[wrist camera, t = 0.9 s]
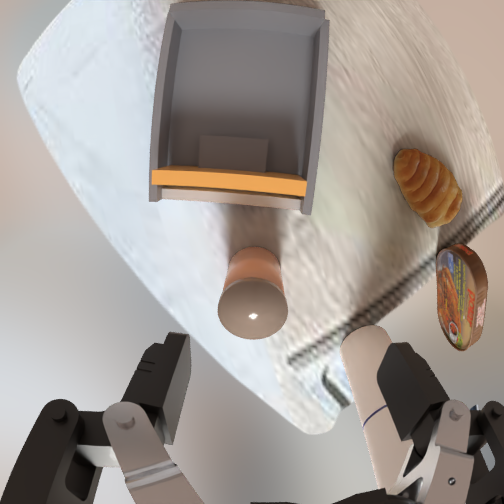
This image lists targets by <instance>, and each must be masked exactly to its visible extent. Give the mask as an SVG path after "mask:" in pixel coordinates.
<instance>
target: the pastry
mask: <svg viewBox="0 0 504 504" xmlns="http://www.w3.org/2000/svg"><path fill="white" fill-rule="evenodd" d="M393 171H394V177H395V179H396V181H397V183H398V185H399V186H400V189H401V192H402V194H403V195H404V198H405V200H406V201H407V202H408V204H409V206H410V208H411V209H412V210H413V211H416V212H417V213H418V215H419V216H420V217H421V218H422V219H423V220H424V221H425V222H426V224H427V226H428V227H430V228H435V227H436V226H442V225H443V224H447V223H449V222H451V221H452V219H453V218H454V217H455V216H456V215H457V213H458V212H459V210H460V206H461V203H462V190H461V189H460V188H459V186H458V184H457V182H456V180H455V178H454V176H453V174H452V173H451V172H450V171H449V170H448V169H447V168H446V167H445V165H444V164H443V163H442V162H440V161H438V160H437V159H436V158H434V157H432V156H430V155H428V154H425V153H422V152H420V151H419V150H418V149H402V150H400V151H399V153H398V154H397V155H396V157H395V160H394V168H393Z"/></svg>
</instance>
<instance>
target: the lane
mask: <svg viewBox="0 0 504 504" xmlns="http://www.w3.org/2000/svg"><path fill="white" fill-rule="evenodd" d="M328 43H329V20H326V19H325V10H320V9H315V8H309V7H303V6H297V5H289V4H281V3H271V2H259V1H233V0H222V1H196V2H184V3H174V4H171V5H170V10H169V12H168V15H167V20H166V25H165V30H164V35H163V40H162V46H161V52H160V58H159V65H158V72H157V79H156V87H155V96H154V105H153V116H152V129H151V144H150V167H149V202H158V201H159V200H161V199H173V200H189V201H204V202H217V203H230V204H241V205H252V206H263V207H273V208H282V209H291V210H300V211H301V213H302V214H306V215H311V211H312V204H313V197H314V190H315V183H316V175H317V167H318V159H319V151H320V142H321V133H322V123H323V113H324V102H325V90H326V77H327V62H328ZM201 135H210V136H229V137H244V138H256V139H266V140H268V150H267V160H266V170H265V171H268V172H278V173H286V174H295V175H299V176H300V177H302V178H303V179H304V180H306V181H307V186H306V194H305V196H297V195H288V194H279V193H270V192H260V191H249V190H238V189H226V188H212V187H196V186H177V185H152V170H154V169H158V168H161V167H165V166H169V165H181V166H198V165H199V150H200V137H201Z"/></svg>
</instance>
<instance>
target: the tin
mask: <svg viewBox="0 0 504 504" xmlns="http://www.w3.org/2000/svg"><path fill="white" fill-rule="evenodd" d="M436 276H437V305H438V306H437V310H438V318H439V322H440V325H441V328H442V330H443V333H444V335H445V336H446V338H447V340H448V341H449V343H450V344H451V345H452V346H453V347H454V348H455V349H457V350H458V351H465V350H467V349H468V348H469V347H470V346H471V345H473V344H474V343H475V342H476V341H478V340H479V338H480V336H481V334H482V329H483V323H484V316H485V309H486V300H487V290H488V280H487V274H486V271H485V268H484V265H483V263H482V261H481V259H480V258H479V256H478V255H477V254H476V252H475V251H473V250H472V249H470V248H469V247H468V246H466V245H464V244H461V243H457V244H454V245H452V246H450V247H448V248H445V249H442V250H441V251H440V252H439V254H438V256H437V259H436Z"/></svg>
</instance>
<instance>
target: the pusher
mask: <svg viewBox="0 0 504 504" xmlns="http://www.w3.org/2000/svg"><path fill="white" fill-rule="evenodd" d="M267 150H268V140H266V139H256V138H244V137H229V136H210V135H201V137H200V150H199V165H198V166H181V165H169V166H165V167H161V168H158V169H154V170H152V185H177V186H196V187H212V188H226V189H238V190H249V191H260V192H270V193H279V194H288V195H297V196H305V194H306V186H307V181H306V180H304V179H303V178H302V177H300V176H299V175H295V174H286V173H278V172H268V171H265V170H266V160H267Z"/></svg>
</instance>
